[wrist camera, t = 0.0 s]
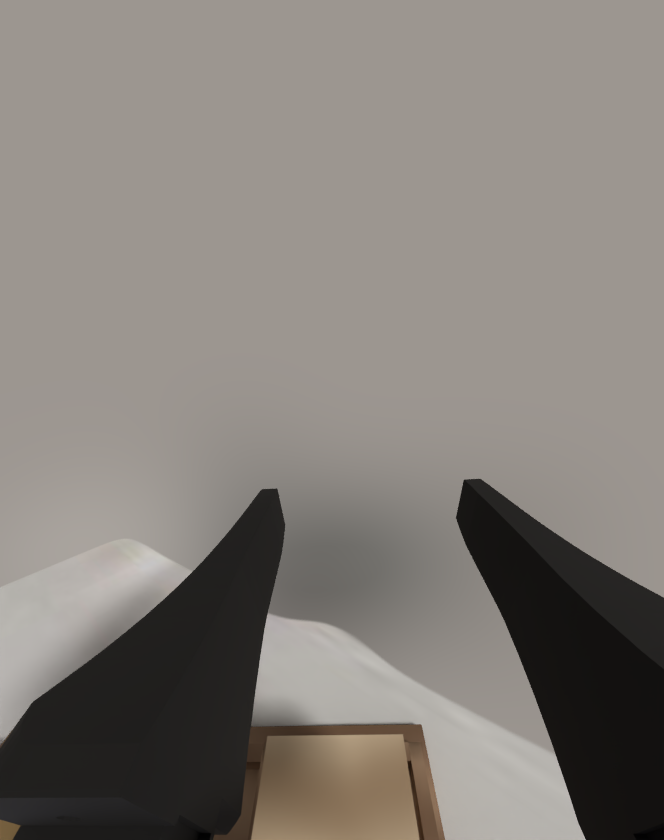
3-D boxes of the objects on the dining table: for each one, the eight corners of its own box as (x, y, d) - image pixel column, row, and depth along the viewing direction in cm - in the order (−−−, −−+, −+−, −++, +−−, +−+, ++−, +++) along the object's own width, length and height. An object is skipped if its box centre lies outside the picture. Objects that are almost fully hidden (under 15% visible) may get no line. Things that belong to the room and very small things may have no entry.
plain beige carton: (416, 930, 13) (427, 892, 10) (274, 928, 13) (243, 889, 10) (397, 789, 17) (402, 730, 14) (288, 790, 17) (268, 731, 14)
